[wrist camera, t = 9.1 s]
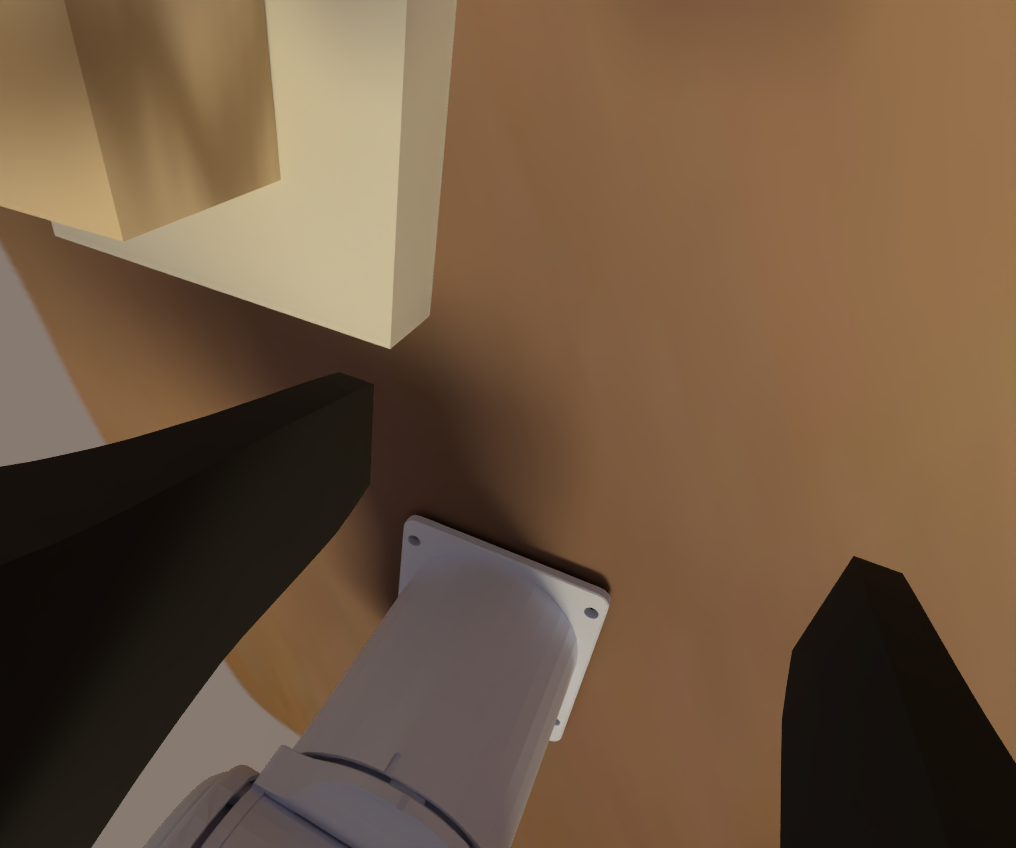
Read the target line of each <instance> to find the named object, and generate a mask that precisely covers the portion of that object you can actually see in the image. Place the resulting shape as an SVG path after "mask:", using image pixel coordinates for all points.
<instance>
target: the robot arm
mask: <svg viewBox="0 0 1016 848" xmlns="http://www.w3.org/2000/svg"><path fill="white" fill-rule="evenodd" d="M373 386H374V384H371V383H368V382H365V381H363V380H360V379H357V378H354V377H351V376H349V375H346V374H343V373H340V372H339V373H335V374H331V375H328V376H324V377H321V378H318V379H315V380H312V381H308V382H305V383H302V384H299V385H297V386H294V387H291V388H288V389H285V390H282V391H279V392H276V393H273V394H270V395H268V396H265V397H262V398H259V399H256V400H253V401H250V402H247V403H244V404H241V405H238V406H235V407H232V408H229V409H226V410H223V411H220V412H217V413H215V414H212V415H208V416H205V417H202V418H199V419H195V420H192V421H189V422H185V423H182V424H179V425H175V426H172V427H169V428H165V429H162V430H159V431H155V432H152V433H148V434H145V435H142V436H138V437H135V438H131V439H128V440H124V441H120V442H116V443H112V444H108V445H104V446H100V447H96V448H92V449H88V450H83V451H79V452H74V453H69V454H65V455H60V456H56V457H51V458H47V459H42V460H37V461H32V462H26V463H20V464H14V465H9V466H2V467H0V848H91V847H92V846H93V844H94V843H95V841H96V840H97V838H98V837H99V835H100V834H101V832H102V831H103V829H104V828H105V826H106V825H107V823H108V822H109V820H110V819H111V817H112V816H113V814H114V813H115V811H116V810H117V808H118V807H119V805H120V804H121V802H122V800H123V799H124V798H125V796H126V795H127V793H128V792H129V790H130V788H131V787H132V786H133V784H134V783H135V781H136V780H137V778H138V776H139V775H140V774H141V772H142V771H143V769H144V768H145V766H146V765H147V764H148V762H149V761H150V759H151V758H152V757H153V755H154V754H155V752H156V751H157V750H158V748H159V747H160V745H161V744H162V743H163V741H164V740H165V738H166V737H167V735H168V734H169V733H170V731H171V730H172V728H173V727H174V725H175V724H176V723H177V721H178V720H179V718H180V717H181V716H182V714H183V713H184V712H185V710H186V709H187V708H188V706H189V705H190V704H191V702H192V701H193V699H194V698H195V696H196V695H197V694H198V693H199V691H200V690H201V689H202V687H203V686H204V685H205V683H206V682H207V681H208V679H209V678H210V677H211V675H212V674H213V673H214V671H215V670H216V669H217V667H218V666H219V664H220V663H221V662H222V661H223V660H224V658H225V657H226V656H227V655H228V654H229V652H230V651H231V650H232V649H233V648H234V646H235V645H236V644H237V643H238V642H239V640H240V639H241V638H242V637H243V636H244V635H245V634H246V633H247V631H248V630H249V629H250V628H251V627H252V626H253V625H254V624H255V623H256V622H257V620H258V619H259V618H260V617H261V616H262V615H263V614H264V613H265V612H266V611H267V609H268V608H269V607H270V606H271V605H272V604H273V603H274V602H275V601H276V600H277V598H278V597H279V596H280V595H281V594H282V593H283V592H284V591H285V590H286V589H287V588H288V586H289V585H290V584H291V583H292V582H293V581H294V580H295V579H296V578H297V577H298V575H299V574H300V573H301V572H302V571H303V570H304V569H305V568H306V567H307V566H308V564H309V563H310V562H311V561H312V560H313V559H314V558H315V557H316V555H317V554H318V553H319V552H320V551H321V550H322V549H323V548H324V547H325V545H326V544H327V543H328V542H329V541H330V540H331V539H332V537H333V536H334V535H335V534H336V533H337V531H338V530H339V528H340V527H341V526H342V524H343V523H344V521H345V520H346V519H347V517H348V516H349V514H350V513H351V512H352V510H353V509H354V507H355V506H356V504H357V503H358V501H359V500H360V498H361V496H362V495H363V493H364V492H365V490H366V489H367V487H368V486H369V484H370V465H371V439H372V412H373ZM415 536H416V537H417V538H416V537H415ZM610 603H611V598H610V595H609V594H608V593H607V592H606V591H605V590H604V589H602V588H600V587H598V586H595V585H593V584H590V583H588V582H585V581H583V580H580V579H578V578H575V577H573V576H570V575H567V574H565V573H562V572H560V571H557V570H555V569H552V568H550V567H547V566H545V565H542V564H540V563H537V562H535V561H532V560H530V559H527V558H525V557H522V556H520V555H517V554H515V553H512V552H510V551H507V550H505V549H502V548H500V547H497V546H495V545H492V544H490V543H487V542H485V541H482V540H480V539H477V538H475V537H472V536H470V535H467V534H465V533H462V532H460V531H457V530H455V529H452V528H449V527H447V526H444V525H442V524H439V523H437V522H434V521H432V520H429V519H427V518H424V517H422V516H418V515H412V516H410V517H409V518H408V519H407V521H406V522H405V524H404V530H403V542H402V555H401V567H400V579H399V591H398V598H397V599H396V601H395V602H394V604H393V605H392V607H391V608H390V609H389V611H388V612H387V614H386V615H385V617H384V618H383V620H382V621H381V622H380V624H379V625H378V627H377V628H376V630H375V631H374V632H373V634H372V635H371V637H370V638H369V640H368V641H367V643H366V644H365V645H364V647H363V648H362V650H361V651H360V653H359V654H358V656H357V657H356V658H355V660H354V661H353V663H352V664H351V666H350V667H349V669H348V670H347V671H346V673H345V674H344V676H343V677H342V679H341V680H340V681H339V683H338V684H337V686H336V687H335V689H334V690H333V692H332V693H331V694H330V696H329V697H328V699H327V700H326V702H325V703H324V705H323V706H322V707H321V709H320V710H319V712H318V713H317V715H316V716H315V717H314V719H313V720H312V722H311V723H310V725H309V726H308V728H307V729H306V730H305V732H304V733H303V735H302V736H301V738H300V739H299V741H298V742H297V744H296V745H295V746H294V748H293V749H291V748H289V747H287V746H286V745H281V746H280V747H279V748H278V750H277V751H276V752H275V754H274V755H273V757H272V758H271V759H270V761H269V762H268V764H267V765H266V766H265V768H264V769H263V771H262V772H261V773H258V772H257V771H255V770H253V769H252V768H250V767H249V766H246V765H239V766H236V767H234V768H232V769H231V770H229V771H226V772H223V773H220V774H217V775H214V776H211V777H209V778H208V779H206V780H205V781H203V782H202V783H201V784H199V785H198V786H197V787H196V788H195V789H194V790H193V791H192V792H191V793H190V794H189V795H188V796H187V797H186V798H185V799H184V800H183V801H182V802H181V803H180V804H179V805H178V806H177V807H176V808H175V809H174V810H173V812H172V813H171V814H170V815H169V816H168V817H167V818H166V820H165V821H164V822H163V823H162V824H161V826H160V827H159V828H158V829H157V831H156V832H155V833H154V834H153V835H152V837H151V838H150V839H149V840H148V842H147V843H146V844H145V845H144V847H143V848H511V845H512V842H513V839H514V836H515V834H516V831H517V828H518V825H519V823H520V820H521V817H522V814H523V811H524V809H525V806H526V803H527V800H528V798H529V795H530V792H531V789H532V786H533V784H534V781H535V778H536V775H537V773H538V770H539V767H540V764H541V761H542V759H543V756H544V753H545V750H546V748H547V745H548V742H549V740H550V741H558V740H560V739H561V737H562V734H563V731H564V729H565V726H566V723H567V721H568V718H569V715H570V712H571V710H572V707H573V704H574V701H575V699H576V696H577V693H578V690H579V688H580V685H581V682H582V680H583V677H584V674H585V671H586V669H587V666H588V663H589V660H590V658H591V655H592V652H593V649H594V647H595V644H596V641H597V639H598V636H599V633H600V630H601V628H602V625H603V622H604V619H605V617H606V614H607V611H608V608H609V606H610ZM590 608H593V609H595V610H596V611H595V610H592V609H590ZM780 848H1016V763H1015V761H1014V760H1013V758H1012V757H1011V755H1010V754H1009V752H1008V750H1007V749H1006V747H1005V746H1004V744H1003V743H1002V741H1001V739H1000V738H999V736H998V735H997V733H996V731H995V730H994V728H993V727H992V725H991V723H990V722H989V720H988V719H987V717H986V715H985V714H984V712H983V710H982V709H981V707H980V705H979V704H978V702H977V700H976V699H975V697H974V696H973V694H972V692H971V691H970V689H969V687H968V685H967V684H966V682H965V680H964V679H963V677H962V675H961V674H960V672H959V670H958V669H957V667H956V665H955V663H954V662H953V660H952V658H951V656H950V655H949V653H948V651H947V649H946V648H945V646H944V644H943V643H942V641H941V639H940V637H939V636H938V634H937V632H936V630H935V629H934V627H933V625H932V623H931V622H930V620H929V618H928V616H927V615H926V613H925V611H924V609H923V607H922V606H921V604H920V602H919V601H918V599H917V597H916V595H915V594H914V592H913V590H912V589H911V587H910V585H909V584H908V582H907V580H906V579H905V577H904V575H903V574H902V573H900V572H897V571H894V570H891V569H889V568H886V567H883V566H880V565H877V564H875V563H872V562H869V561H866V560H863V559H861V558H858V557H855V556H853V558H852V559H851V561H850V562H849V564H848V565H847V567H846V569H845V570H844V572H843V573H842V575H841V576H840V578H839V579H838V581H837V582H836V584H835V585H834V587H833V589H832V590H831V592H830V593H829V595H828V596H827V598H826V599H825V601H824V602H823V604H822V605H821V607H820V609H819V610H818V612H817V613H816V615H815V616H814V618H813V619H812V621H811V622H810V624H809V625H808V627H807V629H806V630H805V632H804V633H803V635H802V636H801V638H800V639H799V641H798V642H797V644H796V645H795V647H794V649H793V650H792V655H791V661H790V668H789V674H788V680H787V687H786V694H785V701H784V709H783V716H782V745H781V831H780Z"/></svg>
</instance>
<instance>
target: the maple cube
mask: <svg viewBox="0 0 1016 848" xmlns="http://www.w3.org/2000/svg"><path fill="white" fill-rule="evenodd" d="M280 180H281V177H280V167H279V156H278V146H277V136H276V125H275V115H274V105H273V94H272V84H271V73H270V63H269V53H268V42H267V32H266V22H265V11H264V1H263V0H0V206H2V207H5V208H9V209H12V210H16V211H19V212H22V213H26V214H29V215H33V216H36V217H40V218H43V219H47V220H50V221H54V222H57V223H60V224H64V225H67V226H71V227H74V228H78V229H81V230H85V231H88V232H92V233H95V234H98V235H102V236H105V237H109V238H112V239H116V240H119V241H123V242H124V241H127V240H129V239H132V238H134V237H137V236H139V235H142V234H144V233H147V232H149V231H152V230H155V229H157V228H160V227H162V226H165V225H167V224H170V223H172V222H175V221H178V220H180V219H183V218H185V217H188V216H190V215H193V214H195V213H198V212H200V211H203V210H206V209H208V208H211V207H213V206H216V205H218V204H221V203H223V202H226V201H229V200H231V199H234V198H236V197H239V196H241V195H244V194H246V193H249V192H251V191H254V190H257V189H259V188H262V187H264V186H267V185H269V184H272V183H274V182H277V181H280Z"/></svg>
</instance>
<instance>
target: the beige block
mask: <svg viewBox="0 0 1016 848" xmlns="http://www.w3.org/2000/svg"><path fill="white" fill-rule="evenodd" d="M263 1H264V11H265V22H266V32H267V42H268V53H269V63H270V73H271V84H272V94H273V105H274V115H275V125H276V136H277V146H278V156H279V167H280V177H281V180H280V181H277V182H274V183H272V184H269V185H267V186H264V187H262V188H259V189H257V190H254V191H251V192H249V193H246V194H244V195H241V196H239V197H236V198H234V199H231V200H229V201H226V202H223V203H221V204H218V205H216V206H213V207H211V208H208V209H206V210H203V211H200V212H198V213H195V214H193V215H190V216H188V217H185V218H183V219H180V220H178V221H175V222H172V223H170V224H167V225H165V226H162V227H160V228H157V229H155V230H152V231H149V232H147V233H144V234H142V235H139V236H137V237H134V238H132V239H129V240H127V241H124V242H123V241H119V240H116V239H112V238H109V237H105V236H102V235H98V234H95V233H92V232H88V231H85V230H81V229H78V228H74V227H71V226H67V225H64V224H60V223H57V222H54V221H51V223H52V226H53V230H54V234H55V236H57V237H60V238H63V239H66V240H69V241H72V242H75V243H78V244H81V245H84V246H87V247H90V248H93V249H96V250H99V251H101V252H104V253H107V254H110V255H113V256H116V257H119V258H122V259H125V260H128V261H131V262H134V263H137V264H140V265H143V266H146V267H149V268H152V269H155V270H158V271H161V272H164V273H167V274H169V275H172V276H175V277H178V278H181V279H184V280H187V281H190V282H193V283H196V284H199V285H202V286H205V287H208V288H211V289H214V290H217V291H220V292H223V293H226V294H229V295H232V296H235V297H237V298H240V299H243V300H246V301H249V302H252V303H255V304H258V305H261V306H264V307H267V308H270V309H273V310H276V311H279V312H282V313H285V314H288V315H291V316H294V317H297V318H300V319H303V320H305V321H308V322H311V323H314V324H317V325H320V326H323V327H326V328H329V329H332V330H335V331H338V332H341V333H344V334H347V335H350V336H353V337H356V338H359V339H362V340H365V341H368V342H371V343H373V344H376V345H379V346H382V347H385V348H388V349H391V348H392V347H393V346H394V345H396V344H397V343H398V342H399V341H400V340H402V339H403V338H404V337H405V336H406V335H408V334H409V333H410V332H411V331H412V330H414V329H415V328H416V327H417V326H418V325H420V324H421V323H422V322H423V321H424V320H425V319H427V318H428V317H429V316H430V308H431V296H432V285H433V273H434V261H435V250H436V238H437V226H438V215H439V203H440V191H441V180H442V168H443V156H444V145H445V133H446V121H447V109H448V98H449V86H450V74H451V63H452V51H453V39H454V28H455V16H456V4H457V0H263Z"/></svg>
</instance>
